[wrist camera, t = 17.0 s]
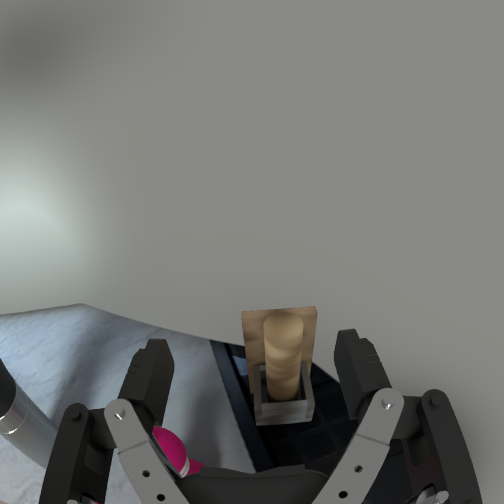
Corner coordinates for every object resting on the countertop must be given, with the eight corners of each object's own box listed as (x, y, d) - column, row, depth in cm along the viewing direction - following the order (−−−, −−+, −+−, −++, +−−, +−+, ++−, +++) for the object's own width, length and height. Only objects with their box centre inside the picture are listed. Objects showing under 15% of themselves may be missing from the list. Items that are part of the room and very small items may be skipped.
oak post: (268, 412, 35) (264, 340, 27) (266, 389, 39) (262, 313, 31) (298, 409, 35) (306, 336, 27) (295, 386, 38) (300, 310, 31)
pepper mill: (165, 502, 24) (94, 456, 15) (175, 464, 30) (120, 397, 21) (214, 512, 23) (168, 481, 14) (222, 472, 29) (188, 411, 21)
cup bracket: (251, 436, 35) (240, 369, 27) (250, 387, 45) (241, 311, 36) (314, 430, 35) (332, 362, 27) (306, 382, 44) (315, 306, 36)
